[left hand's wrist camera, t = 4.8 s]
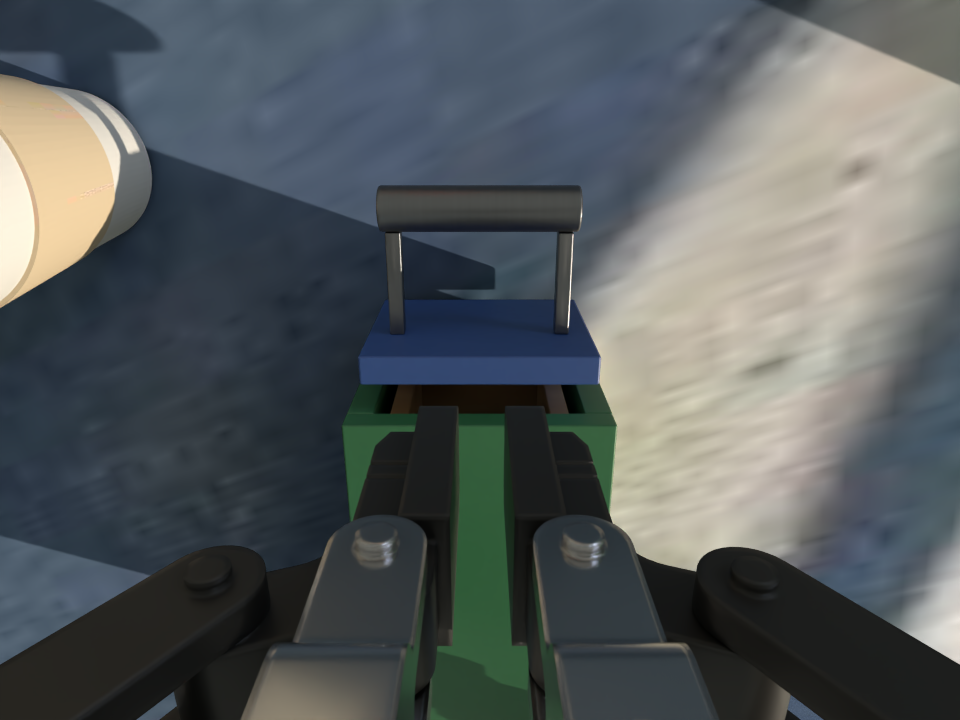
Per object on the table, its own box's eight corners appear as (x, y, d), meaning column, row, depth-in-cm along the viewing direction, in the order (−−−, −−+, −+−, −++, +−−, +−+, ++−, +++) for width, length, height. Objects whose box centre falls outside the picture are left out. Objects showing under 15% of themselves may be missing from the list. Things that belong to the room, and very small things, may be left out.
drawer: (377, 172, 30) (345, 195, 23) (581, 172, 30) (613, 195, 23) (401, 606, 39) (384, 720, 32) (557, 606, 39) (574, 719, 32)
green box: (378, 338, 34) (340, 425, 25) (581, 338, 34) (618, 425, 25) (396, 642, 41) (373, 794, 32) (562, 642, 41) (585, 794, 32)
